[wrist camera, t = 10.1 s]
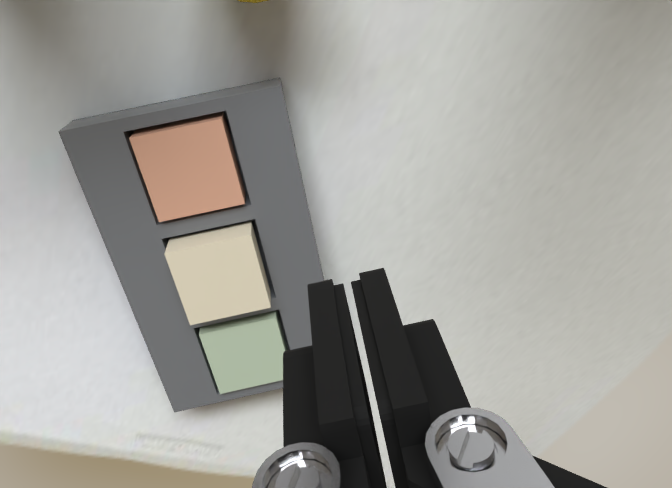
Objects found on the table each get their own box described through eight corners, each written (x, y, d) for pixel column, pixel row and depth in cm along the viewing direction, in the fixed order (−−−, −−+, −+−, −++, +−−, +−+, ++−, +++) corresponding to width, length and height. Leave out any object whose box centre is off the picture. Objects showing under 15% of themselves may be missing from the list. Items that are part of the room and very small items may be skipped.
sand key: (251, 221, 33) (250, 235, 31) (270, 291, 35) (271, 307, 34) (169, 238, 33) (164, 253, 31) (193, 307, 35) (190, 325, 34)
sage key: (275, 301, 37) (275, 317, 35) (290, 359, 39) (292, 377, 38) (201, 317, 37) (198, 334, 35) (221, 375, 39) (220, 394, 37)
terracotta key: (223, 110, 31) (221, 118, 30) (245, 191, 34) (245, 203, 32) (136, 128, 31) (129, 138, 29) (164, 209, 33) (159, 222, 32)
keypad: (279, 77, 32) (281, 85, 30) (339, 352, 41) (344, 374, 39) (72, 120, 31) (58, 131, 29) (179, 388, 40) (174, 412, 38)
